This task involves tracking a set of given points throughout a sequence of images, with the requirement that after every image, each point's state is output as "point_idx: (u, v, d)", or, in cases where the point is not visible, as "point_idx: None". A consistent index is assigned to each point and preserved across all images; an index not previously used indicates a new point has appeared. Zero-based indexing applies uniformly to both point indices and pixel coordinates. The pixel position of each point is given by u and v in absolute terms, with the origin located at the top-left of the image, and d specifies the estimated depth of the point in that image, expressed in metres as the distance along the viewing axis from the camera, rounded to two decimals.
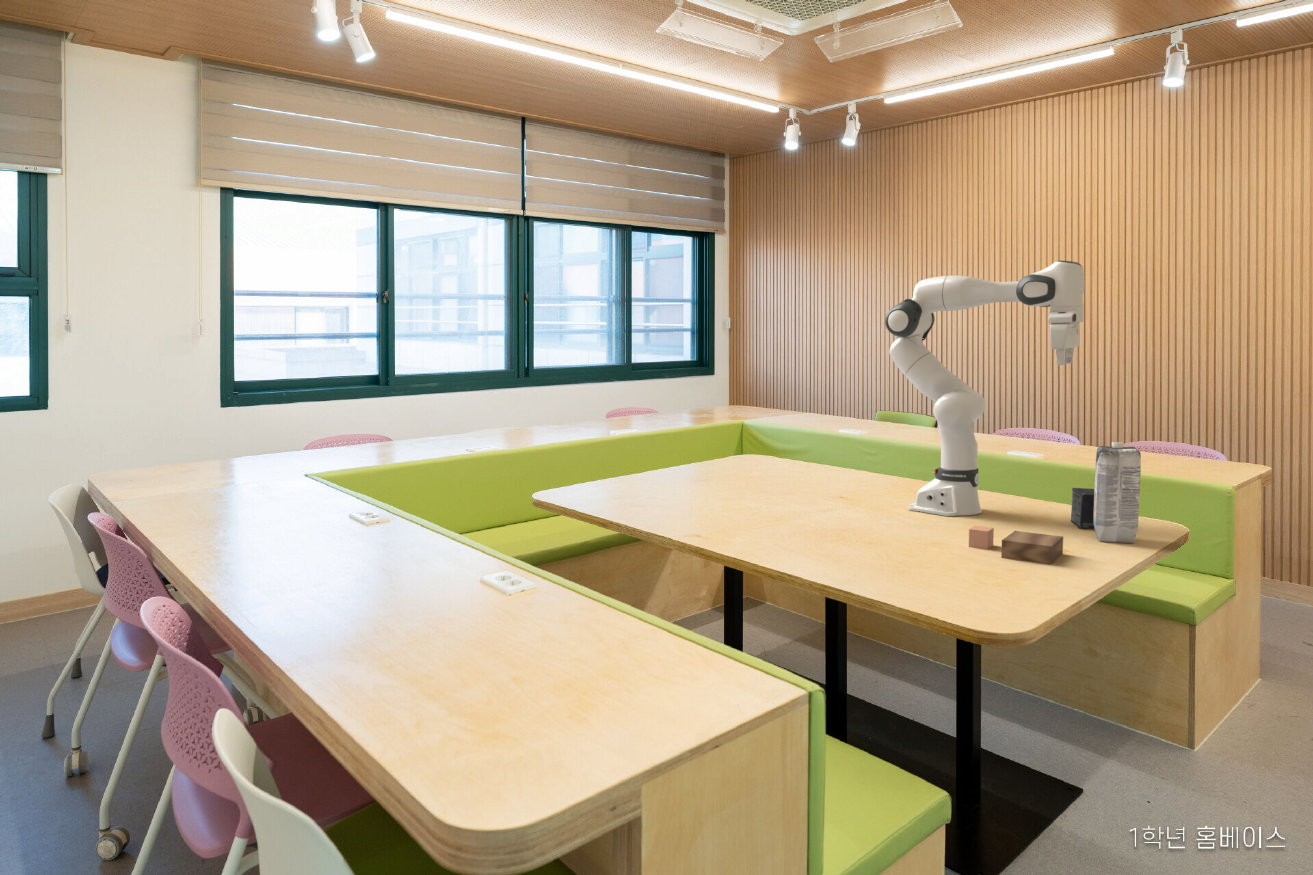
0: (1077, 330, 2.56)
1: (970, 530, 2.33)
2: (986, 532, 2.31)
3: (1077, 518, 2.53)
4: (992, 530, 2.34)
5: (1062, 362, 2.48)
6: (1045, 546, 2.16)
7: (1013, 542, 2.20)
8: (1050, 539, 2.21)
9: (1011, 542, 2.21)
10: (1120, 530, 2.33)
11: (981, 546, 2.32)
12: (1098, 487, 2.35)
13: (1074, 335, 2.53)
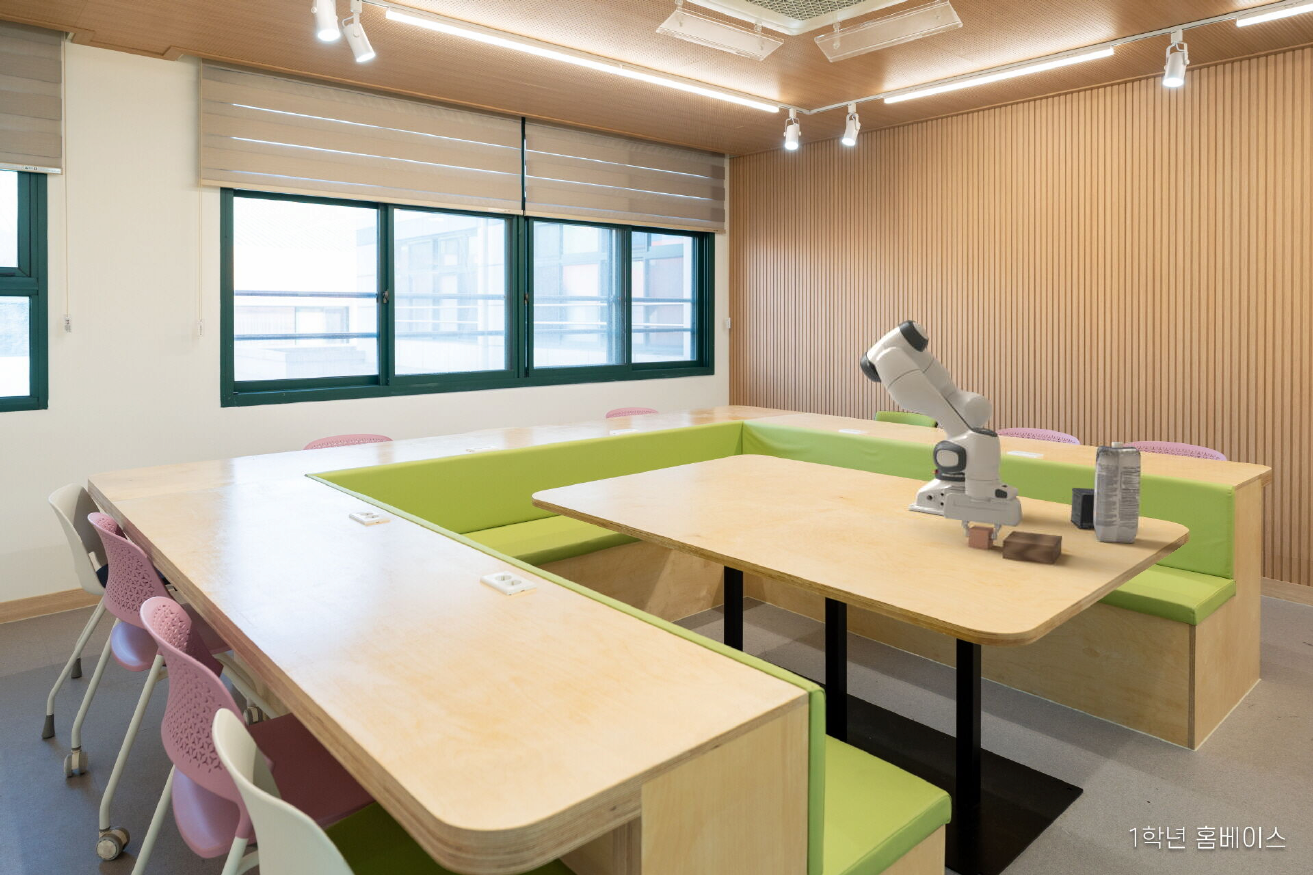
0: None
1: (970, 530, 2.33)
2: (986, 532, 2.31)
3: (1077, 518, 2.53)
4: (992, 530, 2.34)
5: (996, 536, 2.32)
6: (1047, 546, 2.16)
7: (1015, 542, 2.20)
8: (1050, 539, 2.22)
9: (1012, 542, 2.20)
10: (1120, 530, 2.33)
11: (981, 546, 2.32)
12: (1098, 487, 2.35)
13: None
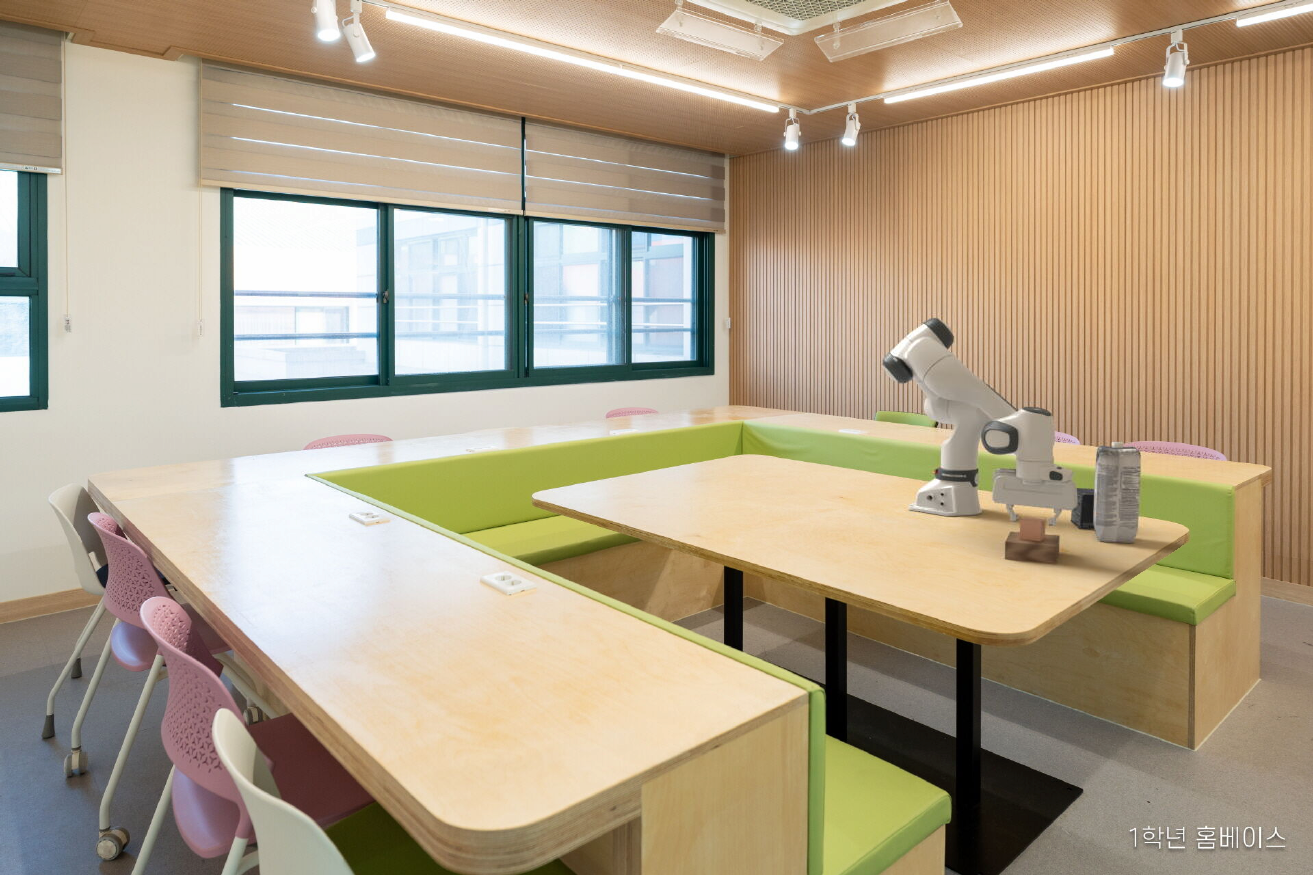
0: None
1: (1021, 521, 2.22)
2: (1039, 523, 2.19)
3: (1077, 518, 2.53)
4: (1044, 521, 2.22)
5: None
6: (1050, 546, 2.16)
7: (1017, 543, 2.19)
8: (1050, 539, 2.22)
9: (1015, 543, 2.20)
10: (1120, 530, 2.33)
11: (1033, 538, 2.20)
12: (1098, 487, 2.35)
13: None
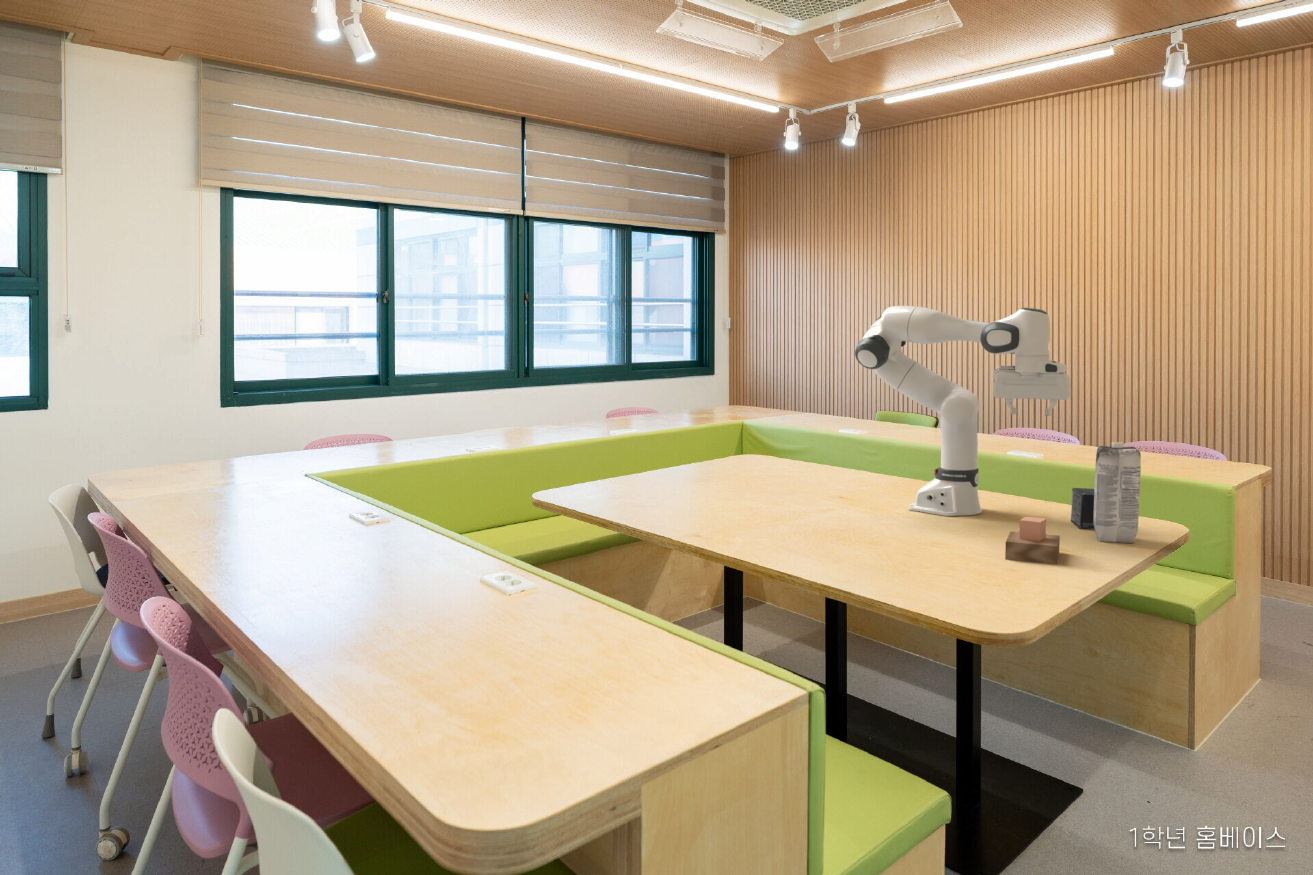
0: None
1: (1021, 521, 2.22)
2: (1038, 523, 2.19)
3: (1077, 518, 2.53)
4: (1045, 521, 2.22)
5: (1051, 412, 2.41)
6: (1050, 546, 2.16)
7: (1017, 543, 2.19)
8: (1050, 539, 2.22)
9: (1015, 543, 2.19)
10: (1120, 530, 2.33)
11: (1033, 538, 2.21)
12: (1098, 487, 2.35)
13: None
